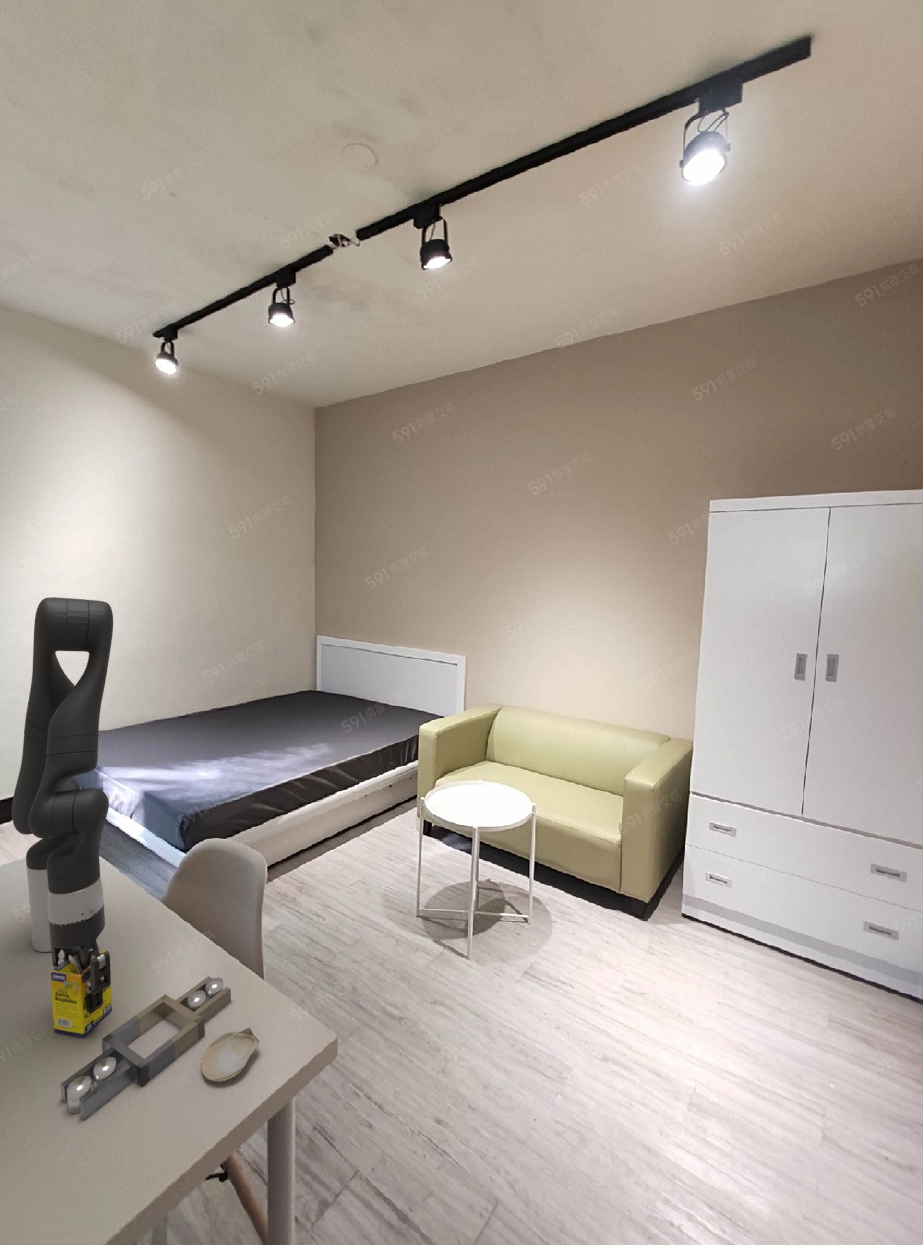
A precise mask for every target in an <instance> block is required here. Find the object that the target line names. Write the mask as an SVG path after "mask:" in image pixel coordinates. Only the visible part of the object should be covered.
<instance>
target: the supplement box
mask: <svg viewBox="0 0 923 1245" xmlns="http://www.w3.org/2000/svg"><path fill="white" fill-rule="evenodd" d="M99 952H100V953H101V954H102V953H104V952H105V951H103V950H99ZM82 971H83V973H87V972H89V971H90V968H89V966H88V967H87V968H85V969H82ZM83 976H84V974H82V975H79V974H78V973H76V972H75V970H74V967H73V965H71V964H70V963H69V962H67V961H66V962H65V963H63V964H62V963H61V964H60V965H58V966H57V967H56V968H55V967H53V969H52V970H50V986H51V999H52V1002H51V1003H52V1016H53V1029H54V1030H53V1032H54V1033H56V1034H57V1033H58V1034H63V1035H66V1036H67V1035H68V1036H72V1037H77V1038H78V1037H79V1038H82V1039H83V1038H85V1037H86V1036H87V1035H88V1034H89V1033H90V1032H91V1030H93V1029H94V1028H95V1027H96V1026H97V1025H98V1024H99V1023H100V1022H101V1021H102V1020H103V1019H104V1018H105V1017H107V1016H108V1015H109V1014H110V1013H111V1012H112V1010H113V1008H112V1006H113V1004H112V985H111V984H112V983H111V984H110V985H109V986H107V987H105V988H104V989H102V992H103V1005H102V1006H101V1007H100V1008H99V1009H97V1010H96V1011H94V1012H93V1013H89V1012H87V1007H86V990H85V984H84V980H82V979H81V978H82V977H83ZM103 977H104V976H103ZM89 981H90V984H91V976H89Z"/></svg>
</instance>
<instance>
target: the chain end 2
mask: <svg viewBox="0 0 923 1245" xmlns="http://www.w3.org/2000/svg"><path fill="white" fill-rule="evenodd" d="M231 990H232V989H231V988H230V987H229V986H226V987H224V979H223V978H222V977H214V978H212V977H211V976H207V977H206V978H204V979H203V980H202V981H200V982H198V983H197V984H196V985H194V986H193V987H192V988H191V989H189V990H188V991H186V992H185V993H183V994H182V995H181V996H179V997H178V998H177V999H173V998H172V997H170V996H168V995H167V994H164V995H162V996H161V997H159V998H158V999H156V1000H155V1001H153V1002H152V1003H151V1004H149V1005H148V1006H146V1007H145V1008H144V1009H142V1010H141V1011H140V1012H138V1013H136V1014H135V1015H134V1016H136V1017H138V1018H139V1020H140V1036H142V1035H143V1034H145V1033H146V1032H147V1031H148V1030H149V1029H151V1028H153V1027H154V1026H155V1025H156V1024H158V1023H159V1022H160V1021H162V1020H163V1019H165V1020H166V1021H168V1022H169V1023H171V1024H172V1025H173V1026H175V1027H177V1028H178V1029H179V1031H178V1032H176V1033H175V1034H174V1035H172V1036H171V1038H169V1039H170V1040H172V1041H173V1042H174V1047H175V1061H176V1060H177V1059H178V1058H179V1057H181V1056H182V1055H183V1054H185V1053H186V1051H188V1050H190V1048H191V1047H193V1046H194V1045H195V1044H197V1043H198V1042H199V1041H200V1040H201V1039H203V1038H204V1037H205V1036H206V1029H205V1024H206V1023H207V1022H208V1021H209V1020H211V1019H212V1018H213V1017H215V1015H217V1014H218V1013H220V1011H222V1010H223V1009H224V1008H225V1007H226V1006H228V1005H229V1004H230V1003H232V992H231Z"/></svg>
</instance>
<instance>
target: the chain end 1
mask: <svg viewBox="0 0 923 1245" xmlns="http://www.w3.org/2000/svg"><path fill="white" fill-rule="evenodd" d="M140 1036H141V1035H140V1020H139V1018H138V1017H136V1016H135V1015H133V1016H132V1017H131V1018H129V1019H128V1020H127V1021H125V1022H124V1023H122V1024H121V1025H120V1026H118V1027H117V1028H116V1029H114V1030H113V1031H111V1032H109V1033H108V1034H107V1035H106V1036H104V1037H103V1038H101V1045H102V1046H101V1048H102V1053H101V1054H99V1055H98V1056H97V1057H96V1058H94V1059H93V1060H92V1061H90V1062H89V1063H87V1064H86V1065H85V1066H83V1067H82V1068H81V1069H79V1070H77V1072H75V1073H73V1074H72V1075H70V1076H69V1077H68V1078H67V1079H65V1080H63V1082H61V1083H60V1094H61V1101H62V1102H64V1103H65V1104H66V1103H67V1106H68V1107H67V1108H68V1112H69V1113H70V1114H79V1115H80V1116H79V1117H80V1118H81V1119H82V1120H83V1121H86V1119H88V1118H89V1117H90V1116H91V1115H92V1114H94V1113H95V1112H97V1110H99V1109H100V1108H101V1107H103V1106H104V1105H105V1104H106V1103H108V1102H109V1101H110V1100H111V1099H112V1098H114V1097H115V1096H116V1095H117V1094H119V1093H120V1092H121V1091H122V1090H123V1089H125V1088H126V1087H127V1086H128V1085H130V1084H131V1083H132V1082H135V1084H137V1085H138V1086H140V1087H141V1088H143V1087H144V1086H146V1085H147V1084H148V1083H149V1082H151V1081H152V1080H153V1079H154V1078H155V1077H157V1075H159V1074H160V1073H162V1072H163V1070H165V1069H166V1068H167V1067H169V1066H170V1065H171V1064H172V1063H174V1061H176V1060H175V1047H174V1042H173V1041H172V1040H170V1038H169V1039H168V1040H166V1041H165V1042H164V1043H163V1044H161V1045H160V1046H159V1047H157V1048H156V1049H155V1050H154V1051H153V1052H151V1053H150V1054H149V1055H148V1056H146V1057H145V1058H144V1057H142V1056H141V1055H140V1054H138V1053H137V1052H135V1051H134V1050H133V1049H132V1048H131V1047H128V1045H129V1044H131V1043H132V1042H134V1041H135V1040H136V1039H137V1038H139V1037H140ZM92 1083H94V1085H93V1086H94V1089H92Z"/></svg>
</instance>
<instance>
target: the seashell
mask: <svg viewBox="0 0 923 1245" xmlns="http://www.w3.org/2000/svg"><path fill="white" fill-rule="evenodd" d="M259 1044H260V1041H259V1039H258V1038H257V1036H255V1035H254V1033H253V1030H252V1029H251V1027H247V1028H245V1029H242V1031H233V1032H227V1033H225V1034H222V1035H219V1036H218V1037H217V1038H215V1040H214V1041H212V1043H210V1045H209V1046H208V1047H207V1049H206V1051H205V1052H204V1054H203V1056H202V1060H201V1061H200V1062H201V1063H200V1066H201V1067H200V1069H201V1073H202V1076H203V1077H204V1078H205V1079H206V1081H207V1080H208V1081H209V1082H213V1083H221V1082H226V1081H227V1080H231V1079H232V1078H234V1077H236V1076H237V1075H239V1074H240V1073H241V1071H242V1070H244V1068H245V1066H246V1065H247V1064H248V1062H249V1059H250V1057H251V1056H252V1055H253V1053H254V1052H255V1050H256V1049H257V1047H258V1046H259Z"/></svg>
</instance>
